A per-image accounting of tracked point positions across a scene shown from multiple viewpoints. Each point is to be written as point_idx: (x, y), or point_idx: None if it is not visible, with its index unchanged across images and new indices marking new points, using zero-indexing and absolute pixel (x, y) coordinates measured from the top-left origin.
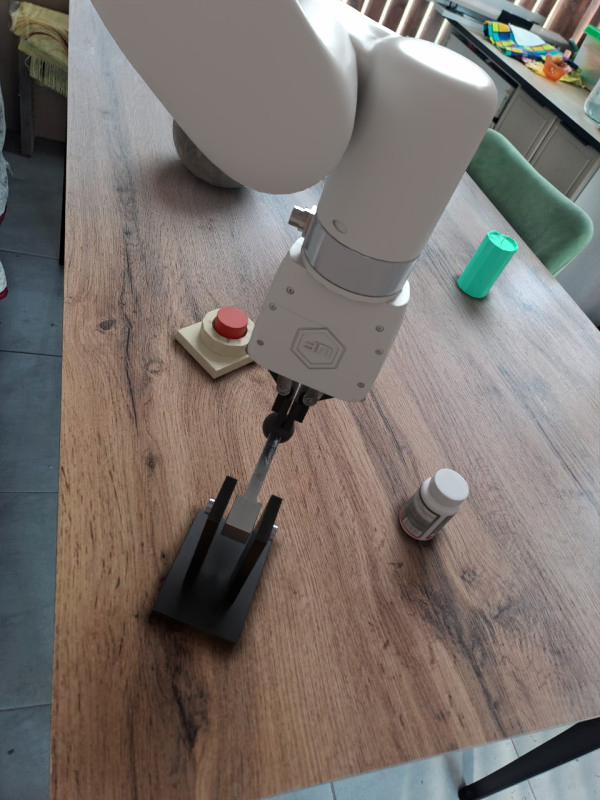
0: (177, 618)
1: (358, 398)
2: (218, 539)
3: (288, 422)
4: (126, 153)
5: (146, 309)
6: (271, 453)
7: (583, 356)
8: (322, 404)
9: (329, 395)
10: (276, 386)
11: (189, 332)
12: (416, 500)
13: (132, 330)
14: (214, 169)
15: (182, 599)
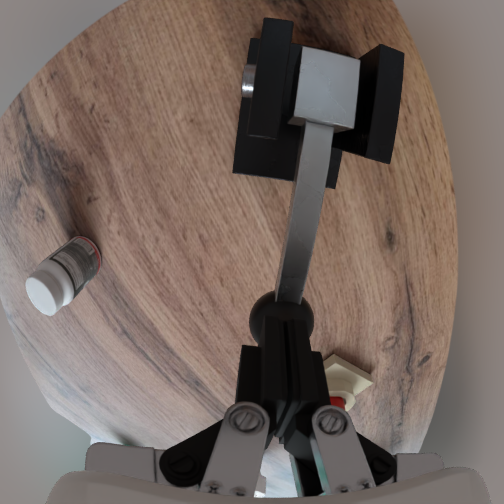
0: (326, 50)
1: (63, 494)
2: None
3: (278, 338)
4: None
5: (393, 385)
6: (290, 259)
7: (55, 409)
8: (212, 360)
9: (190, 449)
10: (351, 423)
11: (362, 385)
12: (76, 272)
13: (406, 365)
14: None
15: None
